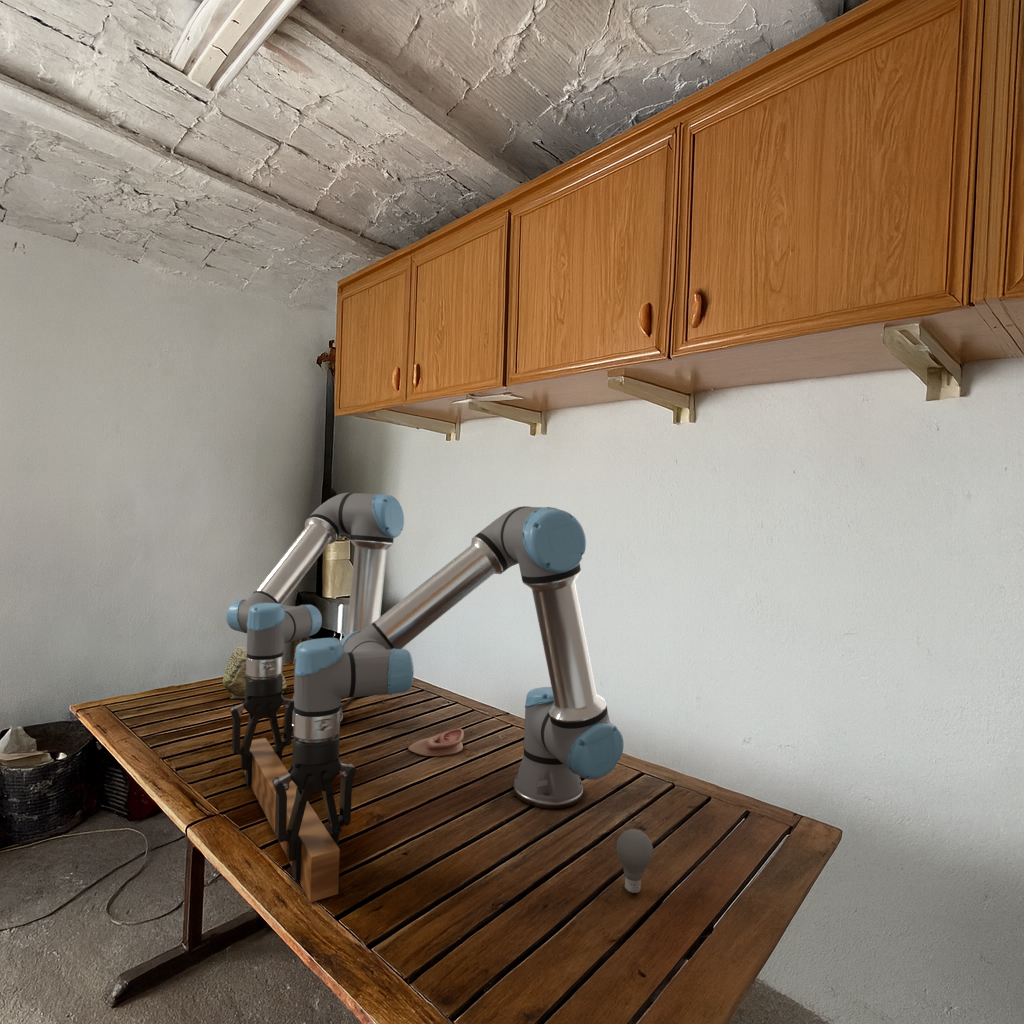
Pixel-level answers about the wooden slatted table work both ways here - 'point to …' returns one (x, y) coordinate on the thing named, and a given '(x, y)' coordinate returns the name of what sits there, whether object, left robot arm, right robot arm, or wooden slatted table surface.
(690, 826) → the wooden slatted table surface
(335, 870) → the bar
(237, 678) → the fossil
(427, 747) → the anatomical model
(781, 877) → the wooden slatted table surface
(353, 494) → the left robot arm
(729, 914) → the wooden slatted table surface
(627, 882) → the light bulb
